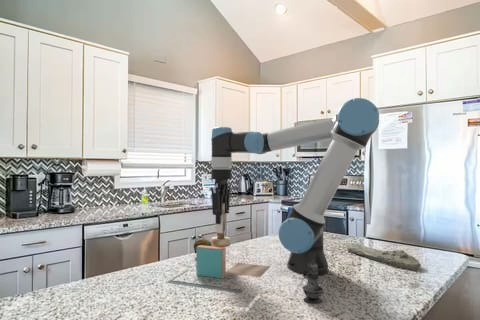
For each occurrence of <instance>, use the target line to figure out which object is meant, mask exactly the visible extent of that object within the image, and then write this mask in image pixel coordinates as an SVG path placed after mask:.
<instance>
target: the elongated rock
mask: <svg viewBox="0 0 480 320" xmlns="http://www.w3.org/2000/svg"><path fill="white" fill-rule="evenodd" d="M347 251H348V252H349V253H350V252H351V253H352V254H356V255H358V256H360V257H364V258H367V259H370V260H372V261H376V262H377V261H378V262H381V263H382V264H385V265H388V266H389V265H390V266H393V267H396V268H399V269H400V268H402V269H408V270H419V269H420V268H421V266H422V265H421V262H419V260H418V259H416V258H415V257H414V256H413V255H409V254H407V253H406V252H405V250H402V249H401V250H400V249H399V250H398V249H397V250H394V249H393V250H381V249H377V248H373V247H369V246H365V245H361V244H358V243H354V244H349V245H348V246H347Z"/></svg>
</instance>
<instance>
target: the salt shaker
mask: <svg viewBox="0 0 480 320" xmlns="http://www.w3.org/2000/svg"><path fill="white" fill-rule="evenodd" d="M306 277H307V281H306V282H307V283H306V284H305V285H303V286H302V290H303V293H304V295H305V297H304V298H303V302H304V303H306V304H309V305H319V304H322V302H323V299H321V298H320V297H321V296H322V295H323V294H322V293H323V291H324V288H323V287H322V286H320V285H319V277H320V276H319V275H318V265H317V264H316V263H314V260H313V259H312V262H311V263H309V264H308V274H307V276H306Z"/></svg>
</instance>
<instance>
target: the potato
mask: <svg viewBox="0 0 480 320" xmlns="http://www.w3.org/2000/svg"><path fill="white" fill-rule="evenodd" d="M199 245H203V246H212V245H211V241H209V240H208V239H198V240H196V241H195V242H194V243H193V250H194V254H197V246H199Z"/></svg>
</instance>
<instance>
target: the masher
mask: <svg viewBox="0 0 480 320" xmlns="http://www.w3.org/2000/svg"><path fill="white" fill-rule="evenodd" d="M222 215H223V233H216V236H213V237H211V239H210V240H211V241H210V242H211V245H212V246H214V247H224V248H226V247H230V246H231V237H229V236H225V234H226V231H225V203H223V204H222Z"/></svg>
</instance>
